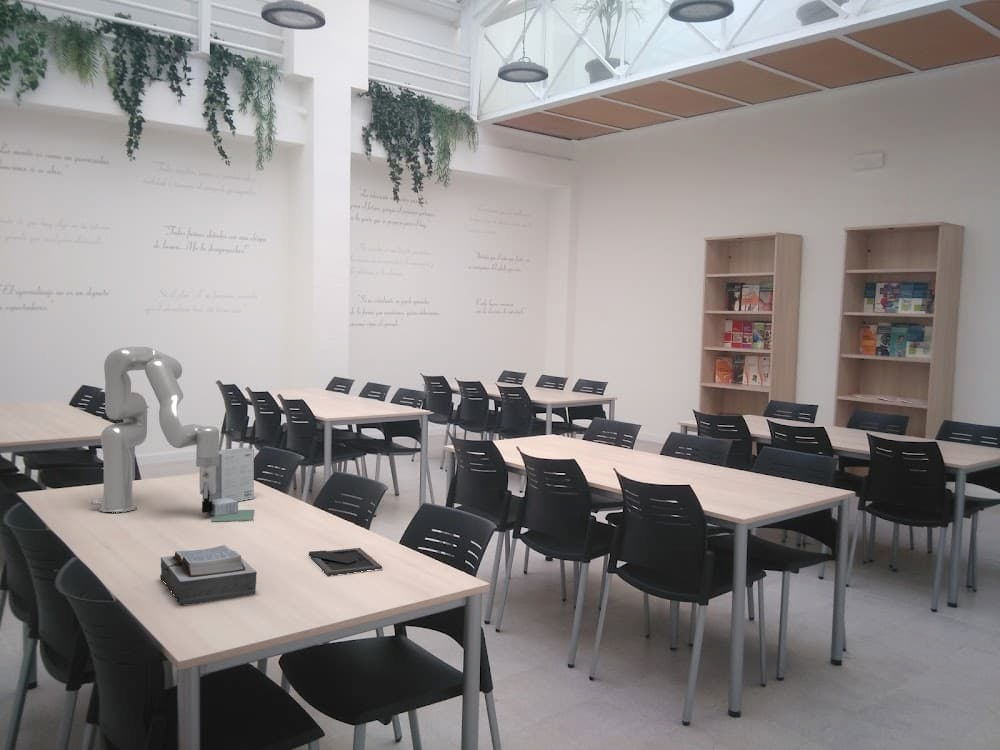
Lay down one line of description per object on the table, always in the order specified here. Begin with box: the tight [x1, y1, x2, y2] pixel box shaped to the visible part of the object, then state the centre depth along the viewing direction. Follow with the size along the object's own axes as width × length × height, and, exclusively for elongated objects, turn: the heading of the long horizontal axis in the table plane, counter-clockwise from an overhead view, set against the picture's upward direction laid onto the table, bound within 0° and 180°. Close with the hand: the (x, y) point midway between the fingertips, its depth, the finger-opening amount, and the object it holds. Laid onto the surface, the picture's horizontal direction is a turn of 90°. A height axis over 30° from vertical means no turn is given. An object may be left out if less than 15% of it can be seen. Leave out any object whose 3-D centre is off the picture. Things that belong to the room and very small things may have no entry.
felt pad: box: [210, 509, 255, 523], centre depth 289 cm, size 14×16×1 cm
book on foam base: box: [159, 544, 257, 606], centre depth 213 cm, size 23×27×10 cm
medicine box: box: [209, 498, 239, 516], centre depth 292 cm, size 8×4×9 cm
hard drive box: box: [212, 447, 255, 503], centre depth 313 cm, size 16×8×20 cm, turn 144°
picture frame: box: [308, 547, 383, 577], centre depth 238 cm, size 16×2×21 cm
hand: (206, 512), depth 287 cm, fingers closed
